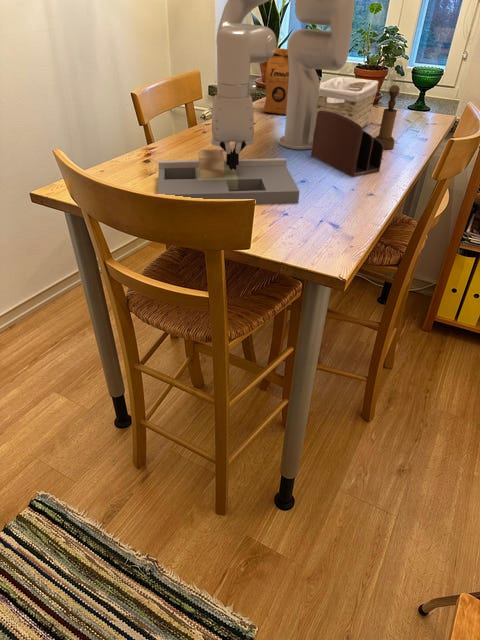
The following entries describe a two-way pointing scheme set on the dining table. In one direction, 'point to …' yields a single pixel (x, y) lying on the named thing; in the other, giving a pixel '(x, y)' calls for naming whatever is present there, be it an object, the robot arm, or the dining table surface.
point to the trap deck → (230, 181)
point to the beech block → (211, 163)
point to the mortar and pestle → (388, 120)
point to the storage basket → (348, 98)
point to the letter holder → (345, 145)
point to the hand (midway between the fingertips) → (232, 167)
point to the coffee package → (277, 82)
